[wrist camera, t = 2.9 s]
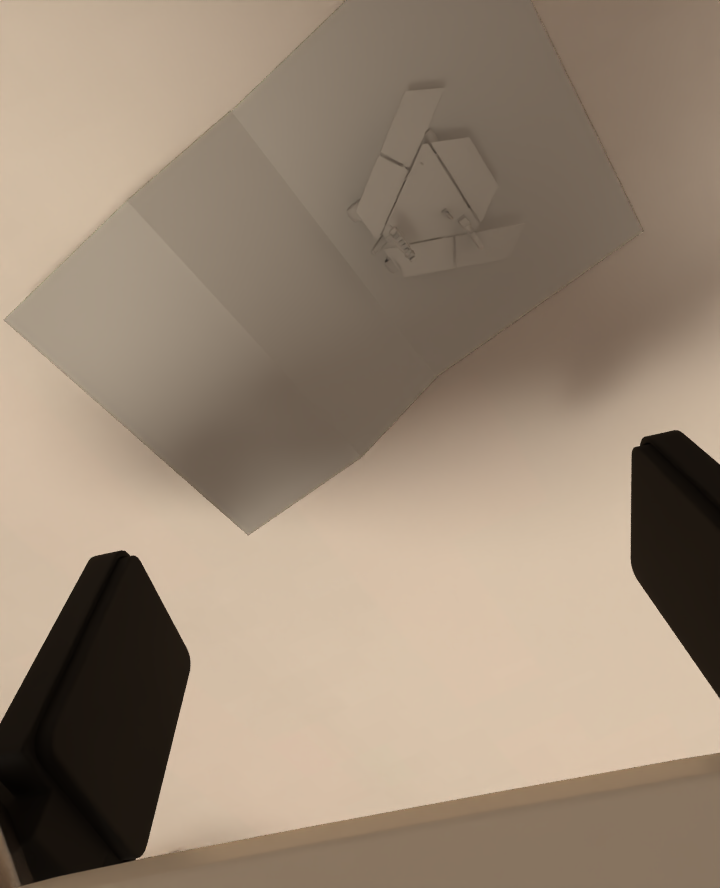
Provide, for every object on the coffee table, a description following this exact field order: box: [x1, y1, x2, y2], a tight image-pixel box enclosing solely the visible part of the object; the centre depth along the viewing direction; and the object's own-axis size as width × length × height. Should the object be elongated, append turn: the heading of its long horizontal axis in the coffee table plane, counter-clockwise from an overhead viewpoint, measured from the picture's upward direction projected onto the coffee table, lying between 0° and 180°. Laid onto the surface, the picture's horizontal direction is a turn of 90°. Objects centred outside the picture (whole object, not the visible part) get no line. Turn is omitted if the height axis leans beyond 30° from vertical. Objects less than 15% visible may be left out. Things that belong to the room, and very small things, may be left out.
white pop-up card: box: [4, 0, 643, 535], centre depth 12 cm, size 7×12×2 cm, turn 128°
